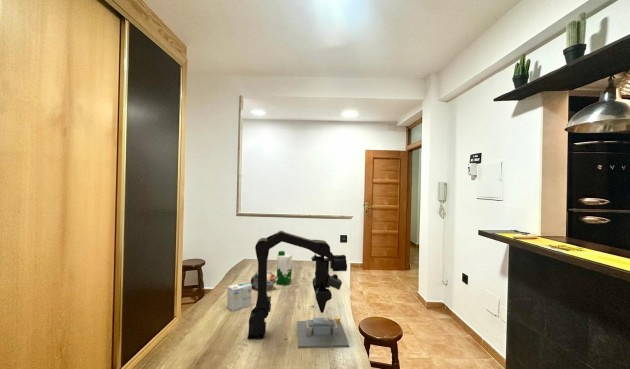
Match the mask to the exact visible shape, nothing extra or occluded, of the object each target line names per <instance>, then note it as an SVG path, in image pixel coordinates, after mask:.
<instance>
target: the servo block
mask: <svg viewBox="0 0 630 369" xmlns="http://www.w3.org/2000/svg"><path fill="white" fill-rule="evenodd" d="M307 320H308V324H309V326H313V335H330V326H335V323H334V320H331V319H330V317H312V319H307Z"/></svg>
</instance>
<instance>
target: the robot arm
mask: <svg viewBox="0 0 630 369" xmlns="http://www.w3.org/2000/svg"><path fill="white" fill-rule="evenodd" d="M280 243H285V244H290V245H293V246H295V247H300V248H302V249H306V250H309V251H310V252H312V253H314V255H313V256H312V257H311V261H312V262H315V269H314V270H315V271H314V277H313V279H312V288H313V291H314V293H315V300H316V303H317V306H318V309H319V312H320V313H321V314H323V313H324V312H325V309H326V305H327V302H329V301H330V300H332V298H333V295H332V294H333V293H332V290H330V288H334V289H336V290H337V291H340V289H341V286H342V284H343V281H342V280H341V279H340V278H339V275H338V274H335V273H333V274H332V275H330V272H329V271H330V270H332V271H333V272H347V270H348V263H347V256H346V255H345V254H338V255H337V254H333V252H331V246H330V245H329V243H328V242H327V240H326V241H325V240H322V239H309V238H306V237H303V236H299V235H296V234H292V233H288V232H285V231H284V230H279V231H277V232H275V233H273V234H271V235H269V236H267V237H261V238H259V239H258V240H257V242H256V243H255V246H254V249H255V255H256V259H257V271H258V290H257V298H256V303H255V307H254V308H252V309H251V311H250V315H249V318H248V334H247V339H248V340H256V339H260V340H262V339H264V338H265V336H266V333H267V321H266V319H267V318H268V317H269V313H270V312H271V310H272V303H271V300H272V296H271V295H270V296H269V295H268V289H267V271H268V259H269V254H270V249H273V248H274V247H275V246H277V245H278V244H280Z"/></svg>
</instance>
